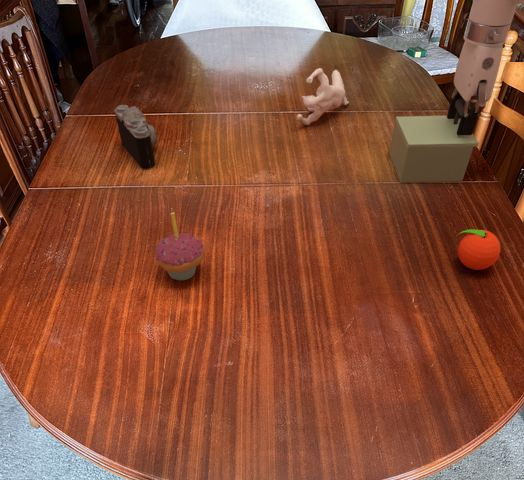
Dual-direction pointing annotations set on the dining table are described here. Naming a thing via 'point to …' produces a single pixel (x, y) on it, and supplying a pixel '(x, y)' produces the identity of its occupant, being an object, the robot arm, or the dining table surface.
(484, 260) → the clementine
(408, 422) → the dining table surface
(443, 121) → the lid
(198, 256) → the cupcake
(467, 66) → the robot arm
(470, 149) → the green hollow rectangular box
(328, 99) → the pale pink plastic figure
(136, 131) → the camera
